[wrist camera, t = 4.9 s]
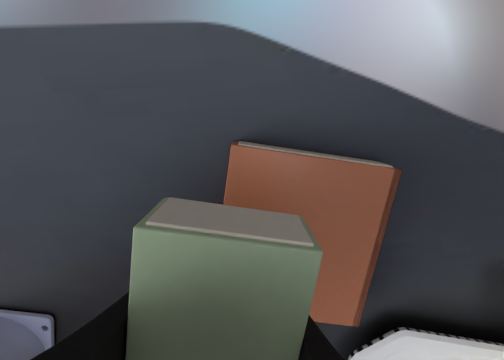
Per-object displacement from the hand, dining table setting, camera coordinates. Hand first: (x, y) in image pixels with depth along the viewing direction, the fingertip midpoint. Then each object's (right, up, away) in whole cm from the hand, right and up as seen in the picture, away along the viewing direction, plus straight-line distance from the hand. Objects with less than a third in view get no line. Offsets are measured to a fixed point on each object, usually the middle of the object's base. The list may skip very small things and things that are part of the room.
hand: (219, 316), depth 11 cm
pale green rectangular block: (0, 0, +1) cm, 1 cm away
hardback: (+5, +2, +10) cm, 11 cm away
